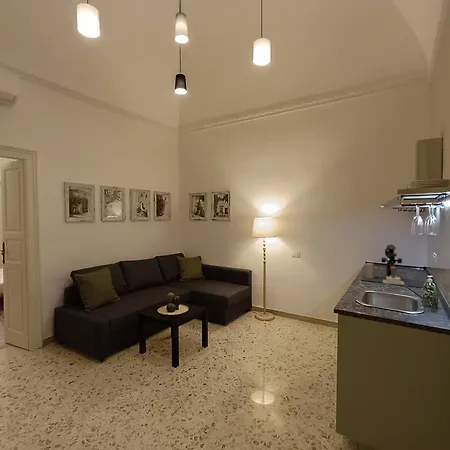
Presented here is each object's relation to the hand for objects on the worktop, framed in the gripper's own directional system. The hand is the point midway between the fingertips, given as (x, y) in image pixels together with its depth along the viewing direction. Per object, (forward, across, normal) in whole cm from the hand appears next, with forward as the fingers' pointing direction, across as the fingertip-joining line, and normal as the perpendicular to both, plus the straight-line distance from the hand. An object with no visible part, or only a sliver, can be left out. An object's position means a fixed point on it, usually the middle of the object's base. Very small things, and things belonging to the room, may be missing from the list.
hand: (392, 266), depth 301 cm
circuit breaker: (+7, -18, +13) cm, 23 cm away
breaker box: (+19, 0, 0) cm, 19 cm away
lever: (+15, 0, -4) cm, 16 cm away
